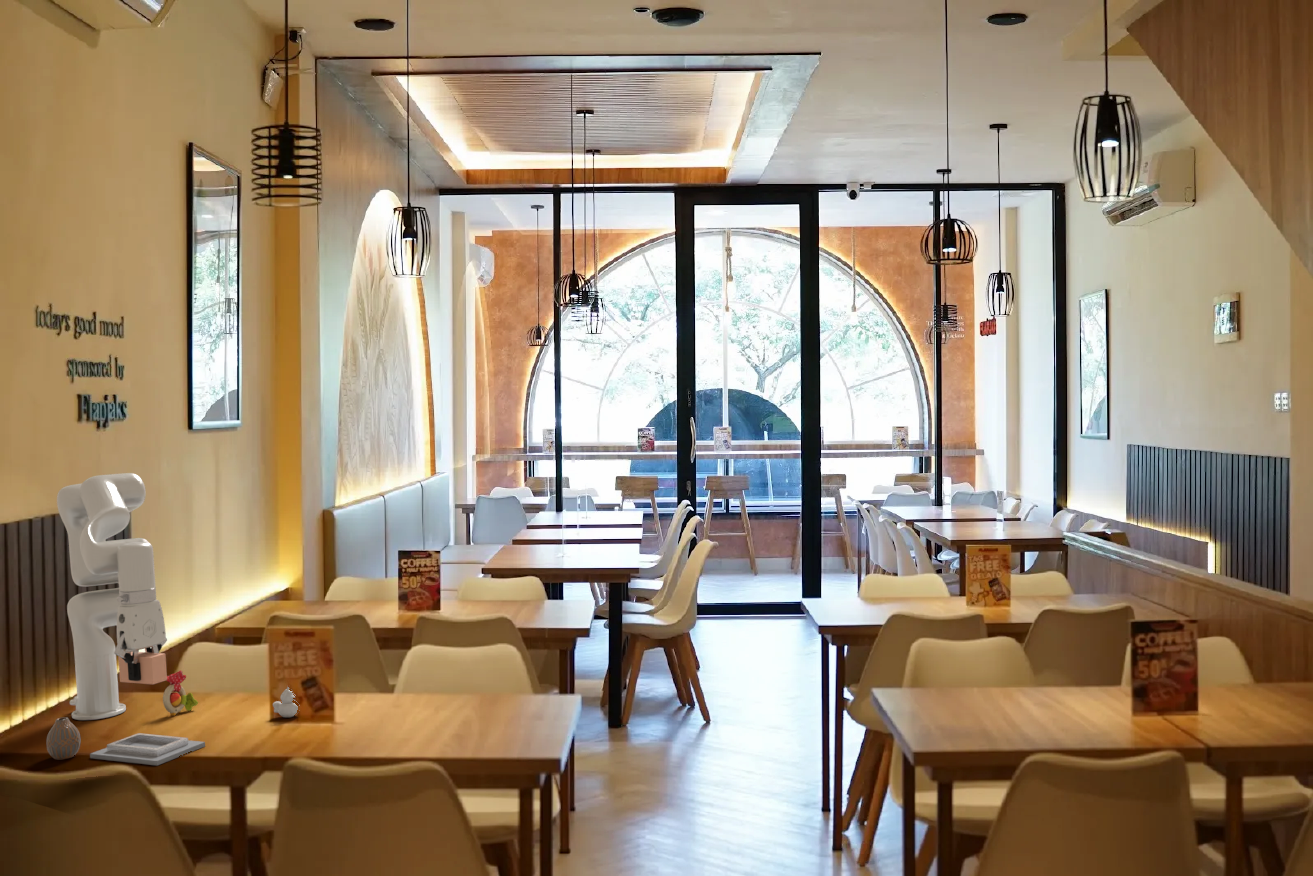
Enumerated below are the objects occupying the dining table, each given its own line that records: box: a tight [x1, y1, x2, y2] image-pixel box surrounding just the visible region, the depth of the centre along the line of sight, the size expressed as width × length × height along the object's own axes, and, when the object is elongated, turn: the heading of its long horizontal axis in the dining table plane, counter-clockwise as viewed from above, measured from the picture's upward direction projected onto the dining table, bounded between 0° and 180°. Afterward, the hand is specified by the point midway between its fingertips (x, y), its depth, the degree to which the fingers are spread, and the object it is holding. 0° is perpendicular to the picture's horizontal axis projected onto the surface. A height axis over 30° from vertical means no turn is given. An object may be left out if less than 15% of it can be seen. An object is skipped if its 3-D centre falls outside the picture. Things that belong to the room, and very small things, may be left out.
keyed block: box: [118, 651, 168, 685], centre depth 265 cm, size 4×10×6 cm, turn 67°
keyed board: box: [89, 732, 206, 766], centre depth 265 cm, size 20×14×2 cm
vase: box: [46, 716, 82, 761], centre depth 265 cm, size 7×7×9 cm
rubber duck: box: [272, 686, 298, 718], centre depth 290 cm, size 5×7×8 cm
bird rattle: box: [162, 670, 199, 717], centre depth 298 cm, size 6×11×9 cm
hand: (143, 676), depth 265 cm, fingers closed on keyed block, 4 cm apart
